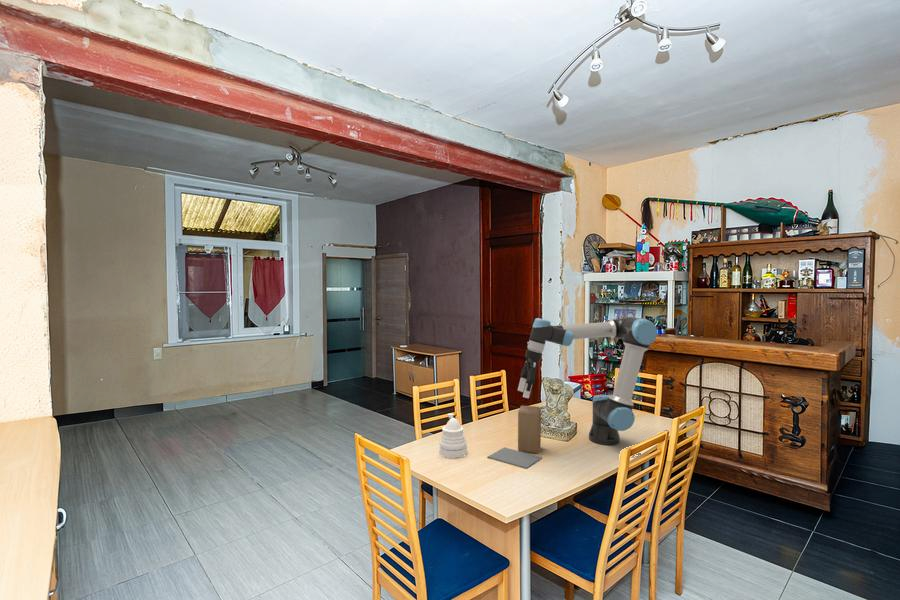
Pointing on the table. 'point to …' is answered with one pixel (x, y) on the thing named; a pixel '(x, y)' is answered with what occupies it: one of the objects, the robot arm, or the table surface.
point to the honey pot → (453, 439)
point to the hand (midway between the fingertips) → (522, 394)
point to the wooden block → (529, 429)
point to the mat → (515, 457)
